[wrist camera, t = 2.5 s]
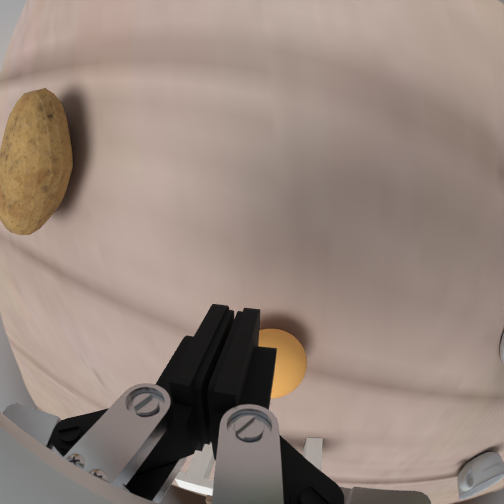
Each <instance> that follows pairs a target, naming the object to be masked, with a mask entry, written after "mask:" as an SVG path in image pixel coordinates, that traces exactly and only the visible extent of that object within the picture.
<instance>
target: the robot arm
mask: <svg viewBox="0 0 504 504" xmlns="http://www.w3.org/2000/svg"><path fill="white" fill-rule="evenodd" d="M259 326H260V309H251V308H244V310H243V312H241V311H238V312H237V314H236V317H235V319H234V311H233V310H229V306H225V305H218V304H212V306H211V307H210V309H209V311H208V313H207V314H206V316H205V318H204V320H203V321H202V323H201V325H200V327H199V328H198V330H197V332H196V334H195V335H194V337H192V336H185V337H184V338H183V340H182V341H181V343H180V345H179V346H178V348H177V350H176V351H175V353H174V355H173V356H172V358H171V360H170V361H169V363H168V364H167V366H166V368H165V369H164V371H163V373H162V374H161V376H160V378H159V379H158V381H157V383H156V384H155V385H154V384H146V383H144V384H138V385H135V386H133V387H130V388H129V389H128V390H126V391H125V392H124V393H123V394H122V395H121V396H120V397H119V399H118V400H117V401H116V402H115V403H114V404H113V405H112V406H111V407H110V408H109V409H105V410H101V411H97V412H93V413H89V414H85V415H80V416H76V417H71V418H67V419H64V420H61V419H60V418H59V417H58V416H55V415H51V414H48V413H45V412H42V411H39V410H37V409H34V408H31V407H28V406H26V405H23V404H19V403H15V404H11V405H10V406H8V407H7V408H6V409H5V410H4V412H3V414H2V413H1V412H0V504H159V502H160V501H161V499H162V498H163V496H164V494H165V493H166V491H167V490H168V488H169V487H170V485H171V484H172V482H173V480H174V479H175V477H176V476H177V474H178V473H179V471H180V469H181V468H182V466H183V465H184V463H185V460H186V457H187V456H190V455H192V454H194V452H195V450H198V451H202V450H203V447H204V444H208V445H210V443H212V449H213V455H214V459H215V460H216V465H215V475H214V484H213V494H212V503H211V504H431V501H430V499H429V498H428V496H427V495H425V494H424V493H422V492H418V491H399V490H382V489H370V488H361V487H353V488H352V489H350V488H343V487H339V486H338V485H337V484H336V483H335V482H334V481H332V480H331V479H330V478H329V477H327V476H326V475H325V474H324V473H322V472H321V471H320V470H319V469H318V468H316V467H315V466H314V465H313V464H312V463H310V462H309V461H308V460H307V459H306V458H305V457H303V456H302V455H301V454H300V453H299V452H298V451H297V450H296V449H294V448H293V447H292V446H291V445H290V444H289V443H288V442H287V441H286V440H285V439H283V438H282V437H281V436H280V435H279V425H278V421H277V418H276V417H275V416H274V414H273V413H272V412H271V411H269V405H270V399H271V392H272V386H273V379H274V371H275V363H276V354H277V348H270V347H261V346H258V343H259ZM500 358H501V360H502V362H503V363H504V333H503V336H502V340H501V344H500Z"/></svg>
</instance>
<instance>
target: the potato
mask: <svg viewBox="0 0 504 504" xmlns="http://www.w3.org/2000/svg"><path fill="white" fill-rule="evenodd" d="M72 167H73V161H72V147H71V141H70V133H69V127H68V122H67V117H66V114H65V111H64V108H63V106H62V103H61V102H60V101H59V99H58V98H57V97H56V96H55V95H54V94H53V93H52V92H50V91H49V90H47V89H46V88H44V89H39V90H35V91H32V92H28V93H25V94H24V95H23V96H22V97H21V98H20V99H19V100H18V101H17V103H16V105H15V106H14V108H13V110H12V112H11V113H10V116H9V118H8V121H7V125H6V129H5V133H4V137H3V141H2V145H1V149H0V220H1V221H2V223H3V225H4V226H5V227H6V229H8V230H9V231H10V232H12V233H15V234H19V235H30V234H32V233H33V232H35V231H37V230H38V229H40V228H41V227H42V226H43V224H44V223H45V222H46V221H47V220H48V219H49V218H50V217H51V215H52V214H53V213H54V212H55V211H56V210H57V209H58V207H59V205H60V203H61V202H62V200H63V198H64V196H65V193H66V189H67V186H68V183H69V179H70V175H71V171H72Z"/></svg>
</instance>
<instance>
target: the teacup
mask: <svg viewBox="0 0 504 504" xmlns="http://www.w3.org/2000/svg"><path fill="white" fill-rule="evenodd" d="M503 477H504V464H503V461H502V458H501V456H500V455H499V454H498V453H492V452H486V453H484V454H481V455H479V456H478V457H476V458H474V459H473V460H471V461H469V462H468V463H467V464H466V465H465V466H464V467H463V469H462V470H461V472H460V473H459V475H458V491H459V499H465V498H468V497H471V496H473V495H475V494H478V493H480V492H481V491H483V490H485V489H487V488H489V487H490V486H492V485H494V484H495V483H497V482H498V481H499V480H501V479H502V478H503Z"/></svg>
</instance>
